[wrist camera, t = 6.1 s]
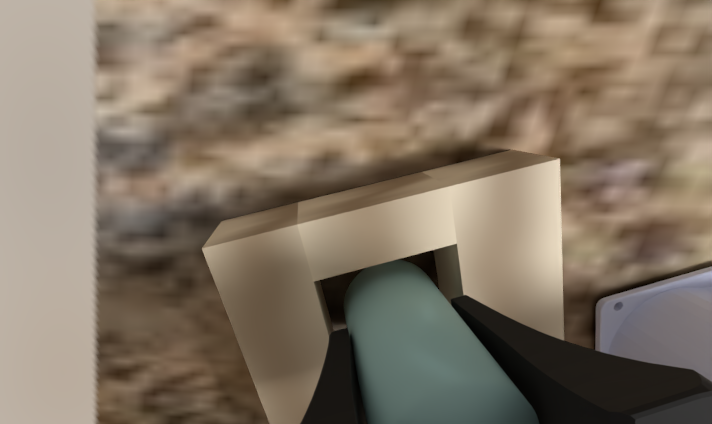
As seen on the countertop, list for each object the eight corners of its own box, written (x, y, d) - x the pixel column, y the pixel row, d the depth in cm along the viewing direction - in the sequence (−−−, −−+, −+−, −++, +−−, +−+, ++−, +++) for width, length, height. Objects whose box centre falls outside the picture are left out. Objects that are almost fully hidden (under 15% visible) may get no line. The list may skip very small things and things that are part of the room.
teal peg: (427, 249, 14) (535, 362, 8) (440, 329, 15) (544, 490, 9) (334, 272, 14) (361, 411, 7) (353, 353, 15) (393, 538, 8)
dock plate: (511, 149, 15) (576, 161, 12) (530, 428, 21) (579, 495, 17) (221, 221, 14) (194, 258, 11) (319, 495, 20) (323, 582, 16)
